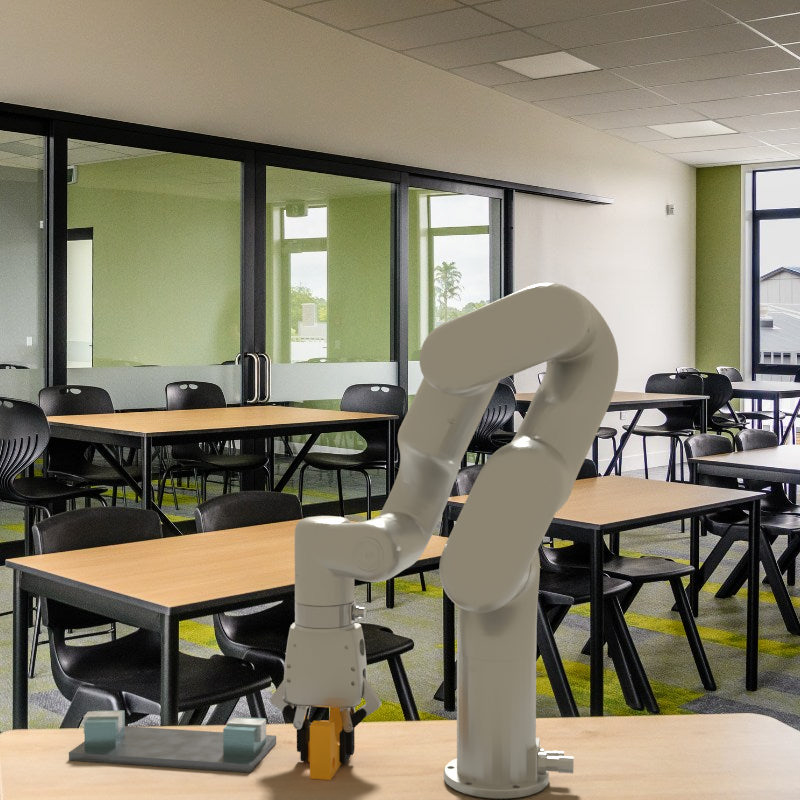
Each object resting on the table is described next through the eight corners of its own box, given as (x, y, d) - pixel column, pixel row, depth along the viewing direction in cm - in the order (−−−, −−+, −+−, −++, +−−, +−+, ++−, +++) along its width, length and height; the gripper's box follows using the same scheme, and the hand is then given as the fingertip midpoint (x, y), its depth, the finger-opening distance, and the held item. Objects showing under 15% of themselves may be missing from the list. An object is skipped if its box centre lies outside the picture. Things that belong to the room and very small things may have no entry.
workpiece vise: (276, 743, 143) (276, 709, 143) (249, 772, 132) (249, 736, 132) (106, 732, 147) (106, 699, 147) (67, 760, 137) (67, 724, 137)
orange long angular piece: (321, 744, 142) (320, 696, 142) (353, 746, 142) (352, 697, 142) (296, 777, 131) (295, 724, 131) (330, 780, 130) (330, 726, 130)
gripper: (396, 611, 138) (396, 752, 138) (269, 606, 141) (270, 745, 141) (384, 624, 131) (385, 773, 131) (251, 619, 134) (252, 765, 134)
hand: (325, 757), depth 136 cm, fingers closed on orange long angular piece, 4 cm apart
